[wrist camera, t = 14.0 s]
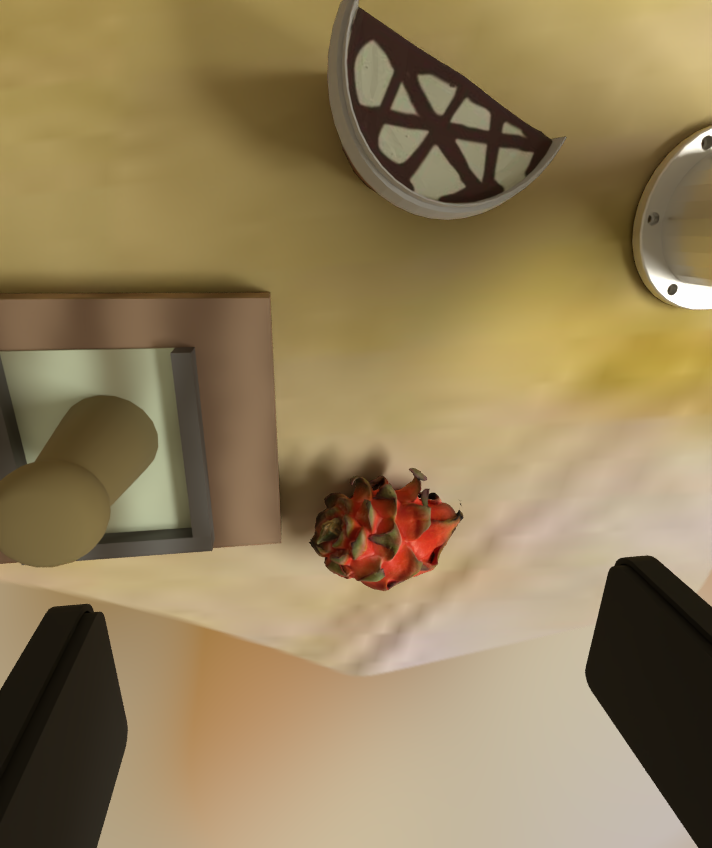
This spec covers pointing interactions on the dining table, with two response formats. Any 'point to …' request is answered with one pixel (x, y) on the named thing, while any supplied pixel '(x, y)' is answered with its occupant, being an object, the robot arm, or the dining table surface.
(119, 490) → the brown rounded bulbous piece
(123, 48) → the dining table surface
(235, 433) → the dock
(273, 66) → the dining table surface
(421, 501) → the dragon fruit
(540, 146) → the food container
